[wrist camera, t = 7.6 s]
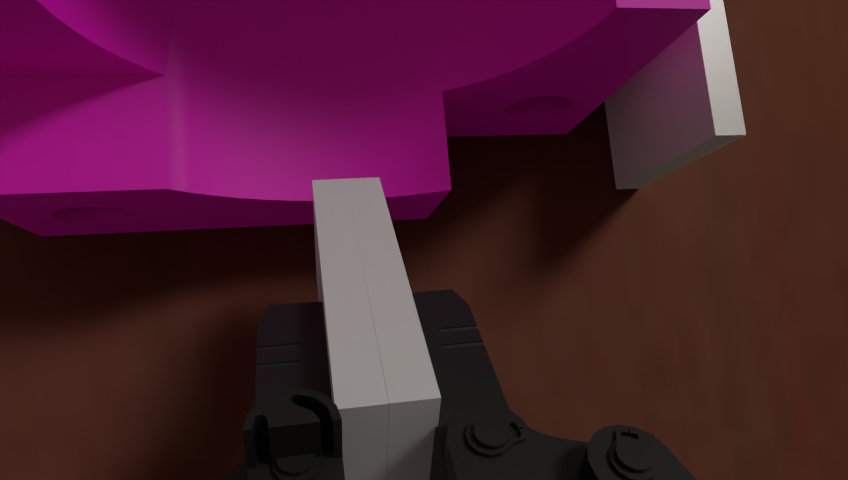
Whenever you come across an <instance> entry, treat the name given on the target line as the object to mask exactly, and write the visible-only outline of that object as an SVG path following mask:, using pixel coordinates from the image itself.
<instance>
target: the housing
mask: <svg viewBox="0 0 848 480" xmlns="http://www.w3.org/2000/svg"><path fill="white" fill-rule="evenodd" d="M710 6H711V10H709V11H708V12H707V13H706V14H705V15H704V16H702V17H701V18H700V19H699V20H698V21H697V22H696V23H694V24H693V25H692V26H691V27H690V28H689V29H687V30H686V31H685V32H684V33H683V34H682V35H681V36H679V37H678V38H677V39H676V40H675V41H674V42H672V43H671V44H670V45H669V46H668V47H667V48H665V49H664V50H663V51H662V52H661V53H660V54H659V55H657V56H656V57H655V58H654V59H653V60H652V61H650V62H649V63H648V64H647V65H646V66H645V67H644V68H642V69H641V70H640V71H639V72H638V73H637V74H635V75H634V76H633V77H632V78H631V79H630V80H628V81H627V82H626V83H625V84H624V85H623V86H622V87H620V88H619V89H618V90H617V91H616V92H615V93H613V94H612V95H611V96H610V97H609V98H608V99H607V100H605V101H604V103H605V110H606V118H607V125H608V133H609V140H610V148H611V155H612V162H613V170H614V177H615V185H616V189H639V188H642V187H644V186H646V185H648V184H650V183H652V182H654V181H656V180H658V179H660V178H662V177H664V176H666V175H667V174H669V173H671V172H673V171H675V170H677V169H679V168H681V167H683V166H685V165H687V164H689V163H691V162H693V161H695V160H697V159H699V158H701V157H703V156H705V155H707V154H709V153H711V152H713V151H715V150H717V149H719V148H721V147H723V146H725V145H727V144H729V143H731V142H733V141H735V140H737V139H739V138H741V137H743V136H745V135H746V131H745V125H744V120H743V114H742V108H741V102H740V96H739V90H738V85H737V79H736V73H735V67H734V61H733V55H732V50H731V44H730V38H729V32H728V26H727V20H726V15H725V9H724V3H723V0H710Z"/></svg>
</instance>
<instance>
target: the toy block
mask: <svg viewBox="0 0 848 480" xmlns="http://www.w3.org/2000/svg"><path fill="white" fill-rule="evenodd" d="M709 10H711V6H710V0H0V219H1V220H4V221H6V222H9V223H11V224H13V225H16V226H18V227H20V228H23V229H25V230H27V231H30V232H32V233H34V234H37V235H39V236H62V235H84V234H106V233H128V232H150V231H172V230H194V229H216V228H238V227H260V226H281V225H303V224H314V213H313V191H312V180H327V179H350V178H374V177H379V178H380V181H381V185H382V189H383V192H384V196H385V199H386V203H387V206H388V210H389V213H390V217H391V220H413V219H427V218H428V217H429V216H430V214H431V213H432V212H433V211H434V210H435V208H436V207H437V206H438V205H439V204H440V203H441V201H442V200H443V199H444V198H445V197H446V195H447V194H448V193H449V192H450V191H451V180H450V169H449V158H448V146H447V137H451V136H497V135H544V134H567V133H568V132H570V131H571V130H572V129H573V128H574V127H575V126H576V125H578V124H579V123H580V122H581V121H582V120H583V119H585V118H586V117H587V116H588V115H589V114H590V113H591V112H593V111H594V110H595V109H596V108H597V107H598V106H600V105H601V104H602V103H603V102H604V101H605V100H607V99H608V98H609V97H610V96H611V95H612V94H613V93H615V92H616V91H617V90H618V89H619V88H620V87H622V86H623V85H624V84H625V83H626V82H627V81H628V80H630V79H631V78H632V77H633V76H634V75H635V74H637V73H638V72H639V71H640V70H641V69H642V68H644V67H645V66H646V65H647V64H648V63H649V62H650V61H652V60H653V59H654V58H655V57H656V56H657V55H659V54H660V53H661V52H662V51H663V50H664V49H665V48H667V47H668V46H669V45H670V44H671V43H672V42H674V41H675V40H676V39H677V38H678V37H679V36H681V35H682V34H683V33H684V32H685V31H686V30H687V29H689V28H690V27H691V26H692V25H693V24H694V23H696V22H697V21H698V20H699V19H700V18H701V17H702V16H704V15H705V14H706V13H707V12H708V11H709Z"/></svg>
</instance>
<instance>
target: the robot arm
mask: <svg viewBox="0 0 848 480" xmlns="http://www.w3.org/2000/svg"><path fill="white" fill-rule="evenodd" d="M312 191H313V213H314V235H315V256H316V277H317V288H318V300H319V302H309V303H296V304H284V305H271V306H269V307H268V308H267V310H266V311H265V313H264V315H263V316H262V318H261V320H260V321H259V323H258V325H257V345H256V347H257V351H256V377H255V406H254V407H253V408H252V409H251V411H250V412H249V413H248V414H247V415H246V419H245V422H244V426H243V429H242V435H243V441H244V447H245V454H246V457H245V458H244V459H243V460H242V462H241V463H240V464H239V465H238V466H237V467H236V468H235V469H234V470H233V471H231V472H230V473H229V474H228V475H226V476H225V477H223V478H221V479H219V480H696V479H695V478H694V477H693V476H692V475H691V474H690V473H689V471H688V470H687V469H686V468H685V467H684V466H683V465H682V464H681V463H680V461H679V460H678V459H677V458H676V457H675V456H674V455H673V454H672V453H671V451H670V450H669V449H668V448H667V447H666V446H665V445H664V444H662V443H661V442H660V441H659V440H658V439H656V438H655V437H654V436H653V435H651V434H649V433H647V432H645V431H642V430H640V429H638V428H636V427H630V426H624V425H614V426H608V427H604V428H602V429H601V430H599V431H598V432H596V433H595V434H593V436H592V438H591V440H590V442H589V443H587V442H581V441H574V440H568V439H562V438H556V437H552V436H548V435H544V434H541V433H539V432H537V431H535V430H533V429H531V428H529V427H528V426H527V425H526V423H525V422H524V420H522V419H521V418H520V417H519V416H517V415H516V414H515V413H513V412H512V411H511V410H510V408H509V406H508V404H507V402H506V400H505V397H504V395H503V392H502V390H501V387H500V385H499V382H498V379H497V377H496V374H495V372H494V369H493V366H492V364H491V361H490V359H489V356H488V354H487V351H486V348H485V346H484V345H483V341H482V338H481V335H480V333H479V330H478V329H477V327H476V322H475V320H474V317H473V315H472V312H471V310H470V307H469V305H468V304H467V303H466V302H465V301H464V300H463V299H462V298H461V297H460V296H458V295H457V294H456V293H455V292H454V291H453V290H440V291H427V292H415V293H412V292H411V288H410V285H409V281H408V278H407V274H406V270H405V267H404V263H403V260H402V256H401V253H400V249H399V246H398V242H397V238H396V235H395V231H394V228H393V224H392V221H391V217H390V213H389V210H388V206H387V203H386V199H385V196H384V192H383V189H382V185H381V181H380V178H379V177H374V178H350V179H327V180H312Z"/></svg>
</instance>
